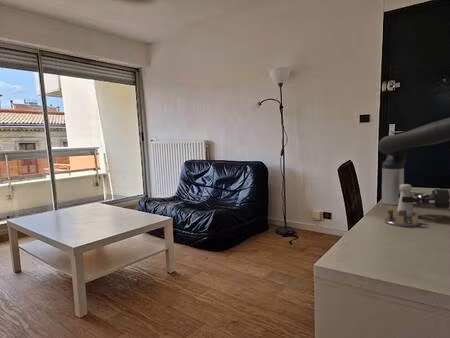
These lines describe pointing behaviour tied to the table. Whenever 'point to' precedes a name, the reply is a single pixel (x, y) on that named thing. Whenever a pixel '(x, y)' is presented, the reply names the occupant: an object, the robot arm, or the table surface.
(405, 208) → the salt shaker
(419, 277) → the table surface
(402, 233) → the table surface
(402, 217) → the disc with wooden blocks
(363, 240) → the table surface
